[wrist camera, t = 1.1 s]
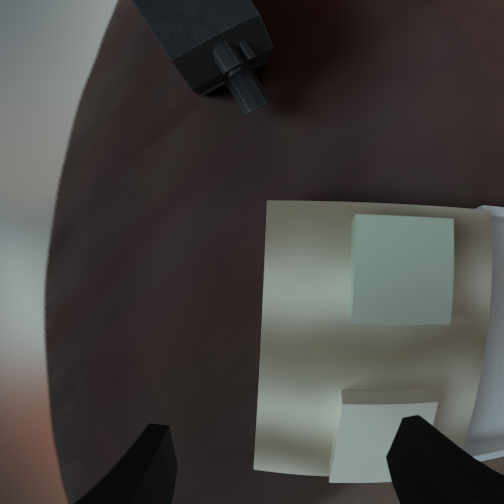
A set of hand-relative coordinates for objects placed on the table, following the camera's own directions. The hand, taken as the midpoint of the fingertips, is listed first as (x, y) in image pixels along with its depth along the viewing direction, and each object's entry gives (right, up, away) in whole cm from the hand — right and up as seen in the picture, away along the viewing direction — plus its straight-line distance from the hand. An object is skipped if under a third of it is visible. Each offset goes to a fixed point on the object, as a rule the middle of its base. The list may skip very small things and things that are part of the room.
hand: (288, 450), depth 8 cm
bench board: (+6, 0, +10) cm, 12 cm away
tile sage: (+6, +5, +7) cm, 11 cm away
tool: (-5, +24, +15) cm, 28 cm away
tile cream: (+6, -4, +7) cm, 10 cm away
